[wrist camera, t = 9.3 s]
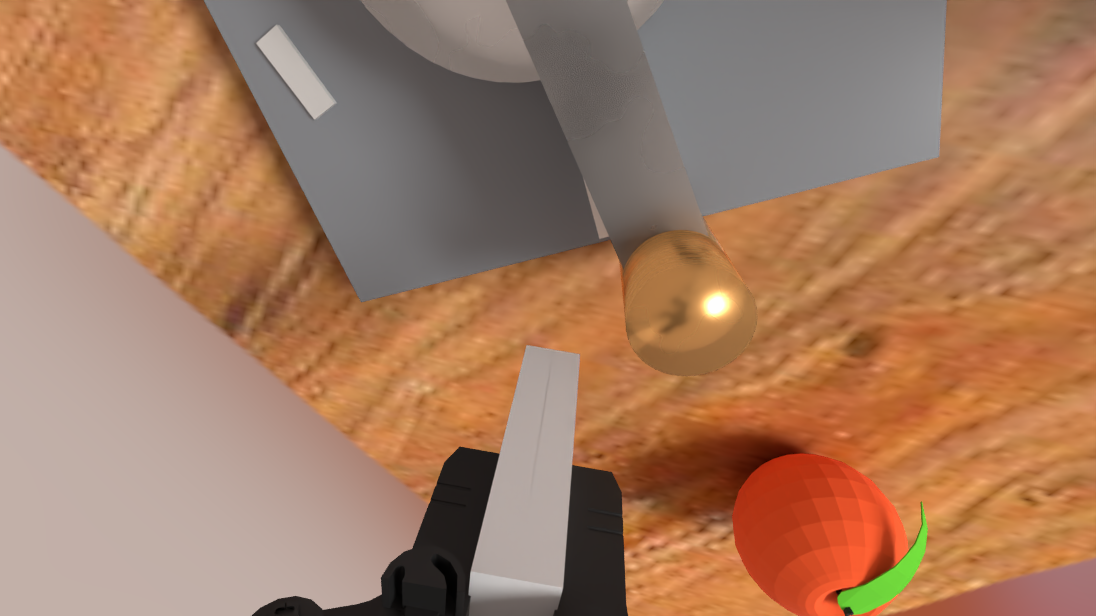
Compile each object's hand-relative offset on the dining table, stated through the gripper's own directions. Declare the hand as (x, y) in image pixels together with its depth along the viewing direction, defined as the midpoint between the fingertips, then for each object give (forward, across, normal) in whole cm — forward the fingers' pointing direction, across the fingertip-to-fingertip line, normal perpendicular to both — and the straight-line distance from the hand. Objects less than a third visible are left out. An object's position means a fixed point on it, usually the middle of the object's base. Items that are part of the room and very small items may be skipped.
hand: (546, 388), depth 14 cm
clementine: (+8, +13, -9) cm, 18 cm away
